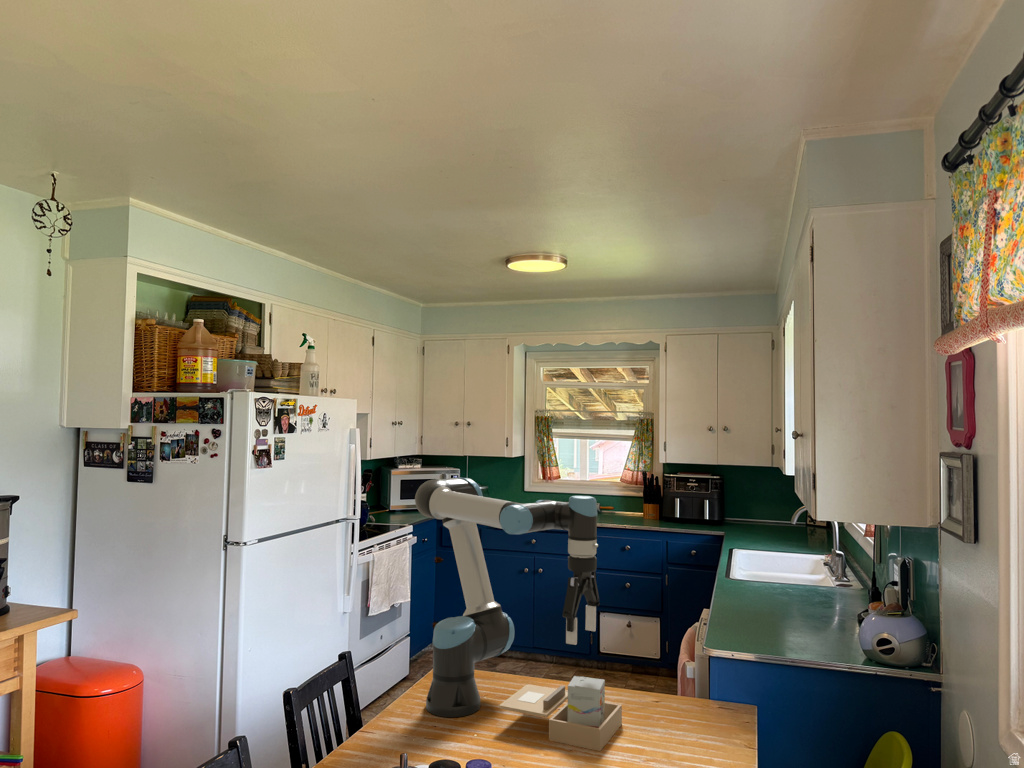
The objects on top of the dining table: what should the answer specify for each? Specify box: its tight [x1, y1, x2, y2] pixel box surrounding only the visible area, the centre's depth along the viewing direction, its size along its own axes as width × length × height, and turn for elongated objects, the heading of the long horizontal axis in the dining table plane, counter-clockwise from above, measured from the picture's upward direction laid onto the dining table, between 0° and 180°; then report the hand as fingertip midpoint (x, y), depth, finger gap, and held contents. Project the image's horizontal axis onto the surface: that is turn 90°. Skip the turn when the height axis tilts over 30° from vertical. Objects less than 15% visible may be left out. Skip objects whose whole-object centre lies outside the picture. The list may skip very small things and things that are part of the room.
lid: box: [498, 683, 568, 719], centre depth 184 cm, size 13×17×3 cm
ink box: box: [567, 675, 606, 728], centre depth 179 cm, size 9×9×12 cm
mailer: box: [548, 701, 623, 752], centre depth 178 cm, size 13×17×5 cm
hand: (581, 637), depth 183 cm, fingers open, 13 cm apart
